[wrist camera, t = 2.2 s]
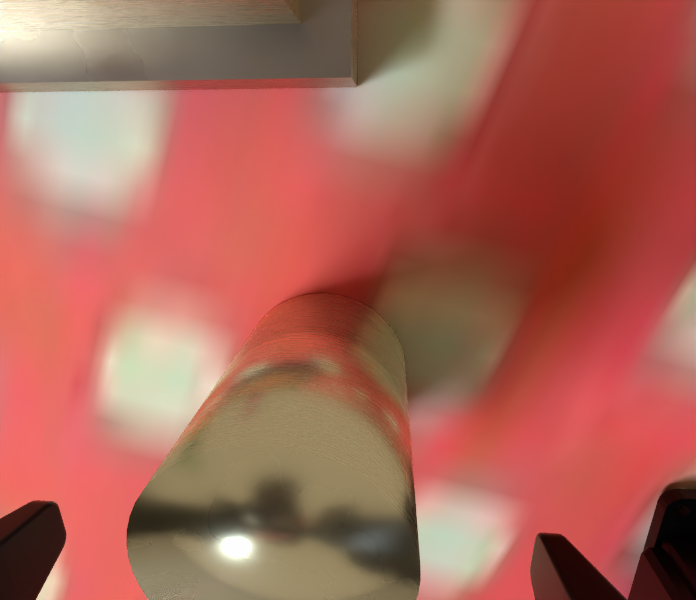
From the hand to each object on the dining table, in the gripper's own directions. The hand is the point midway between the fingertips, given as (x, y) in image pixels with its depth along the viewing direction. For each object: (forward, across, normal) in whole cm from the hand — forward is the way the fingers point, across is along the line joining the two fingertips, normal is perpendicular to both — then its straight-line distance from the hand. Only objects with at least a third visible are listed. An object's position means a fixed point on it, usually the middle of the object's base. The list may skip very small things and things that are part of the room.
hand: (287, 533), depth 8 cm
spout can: (+6, 0, 0) cm, 6 cm away
